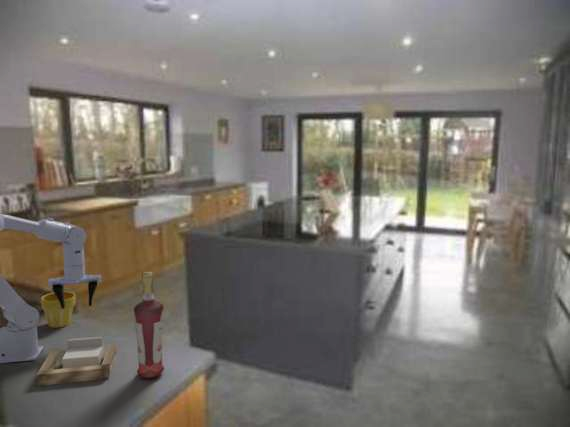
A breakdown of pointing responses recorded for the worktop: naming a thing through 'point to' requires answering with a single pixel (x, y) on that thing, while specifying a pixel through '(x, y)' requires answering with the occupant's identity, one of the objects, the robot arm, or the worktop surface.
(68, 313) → the plant pot
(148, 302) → the liquor
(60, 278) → the robot arm
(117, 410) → the worktop surface
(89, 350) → the grey l-shaped bracket
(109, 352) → the wooden u-shaped frame
